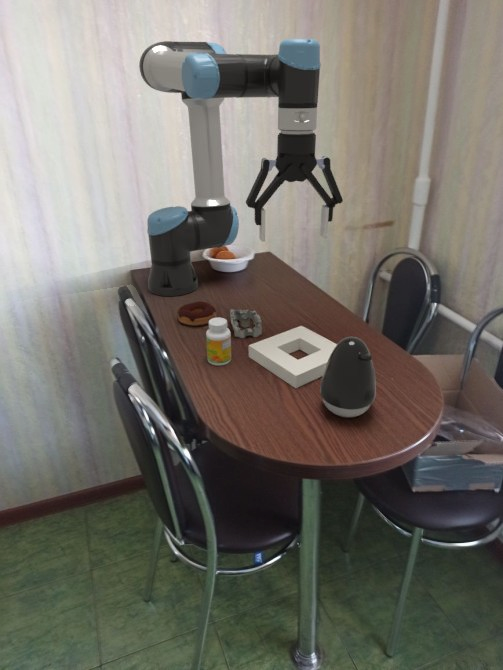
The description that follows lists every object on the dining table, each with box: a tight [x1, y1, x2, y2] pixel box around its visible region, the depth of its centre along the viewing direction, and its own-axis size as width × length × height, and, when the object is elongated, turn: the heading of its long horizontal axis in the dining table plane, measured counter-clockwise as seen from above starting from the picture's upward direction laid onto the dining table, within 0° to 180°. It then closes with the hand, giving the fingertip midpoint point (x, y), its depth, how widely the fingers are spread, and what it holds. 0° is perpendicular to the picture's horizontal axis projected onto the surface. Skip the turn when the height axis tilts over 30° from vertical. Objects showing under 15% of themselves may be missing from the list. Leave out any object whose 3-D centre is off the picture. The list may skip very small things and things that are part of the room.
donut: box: [177, 301, 217, 327], centre depth 125 cm, size 10×10×4 cm
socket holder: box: [248, 325, 338, 389], centre depth 106 cm, size 16×16×3 cm
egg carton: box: [229, 308, 263, 339], centre depth 120 cm, size 11×8×4 cm
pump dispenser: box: [319, 336, 377, 418], centre depth 87 cm, size 10×10×15 cm
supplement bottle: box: [205, 316, 232, 366], centre depth 105 cm, size 5×5×10 cm
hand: (293, 238), depth 103 cm, fingers open, 13 cm apart
